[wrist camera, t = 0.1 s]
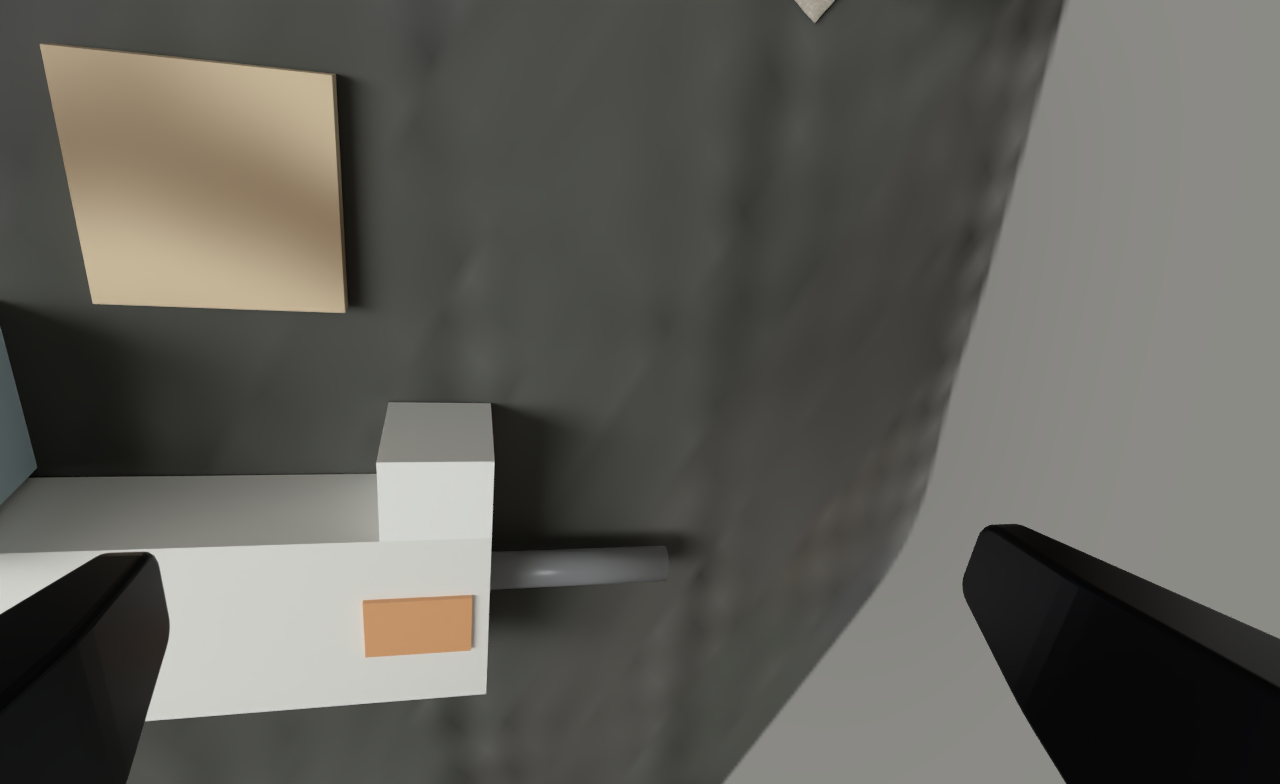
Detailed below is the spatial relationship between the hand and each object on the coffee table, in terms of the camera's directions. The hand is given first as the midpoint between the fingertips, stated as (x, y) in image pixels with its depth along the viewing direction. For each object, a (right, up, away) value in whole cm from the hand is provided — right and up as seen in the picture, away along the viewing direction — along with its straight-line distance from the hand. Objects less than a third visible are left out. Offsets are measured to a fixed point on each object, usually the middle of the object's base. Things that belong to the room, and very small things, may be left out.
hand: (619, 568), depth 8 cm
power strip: (-11, -2, +15) cm, 19 cm away
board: (-10, +7, +11) cm, 17 cm away
